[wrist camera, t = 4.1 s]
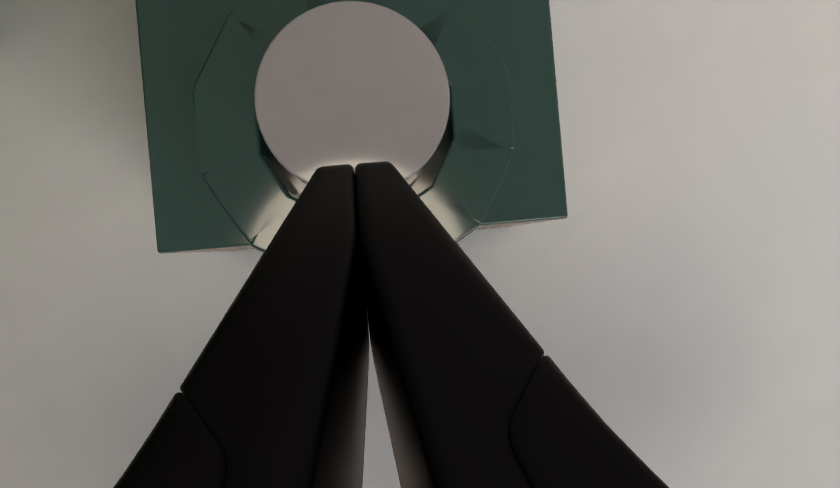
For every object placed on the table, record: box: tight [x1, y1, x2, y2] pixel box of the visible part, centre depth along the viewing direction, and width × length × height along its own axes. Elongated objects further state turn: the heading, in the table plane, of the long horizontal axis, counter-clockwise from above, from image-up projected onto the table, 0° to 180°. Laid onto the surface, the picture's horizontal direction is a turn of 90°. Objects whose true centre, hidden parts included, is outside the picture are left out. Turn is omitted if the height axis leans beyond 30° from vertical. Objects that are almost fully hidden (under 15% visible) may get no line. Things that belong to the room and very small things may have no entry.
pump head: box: [254, 1, 450, 186], centre depth 12 cm, size 3×3×2 cm
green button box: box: [135, 0, 568, 253], centre depth 17 cm, size 11×9×8 cm
